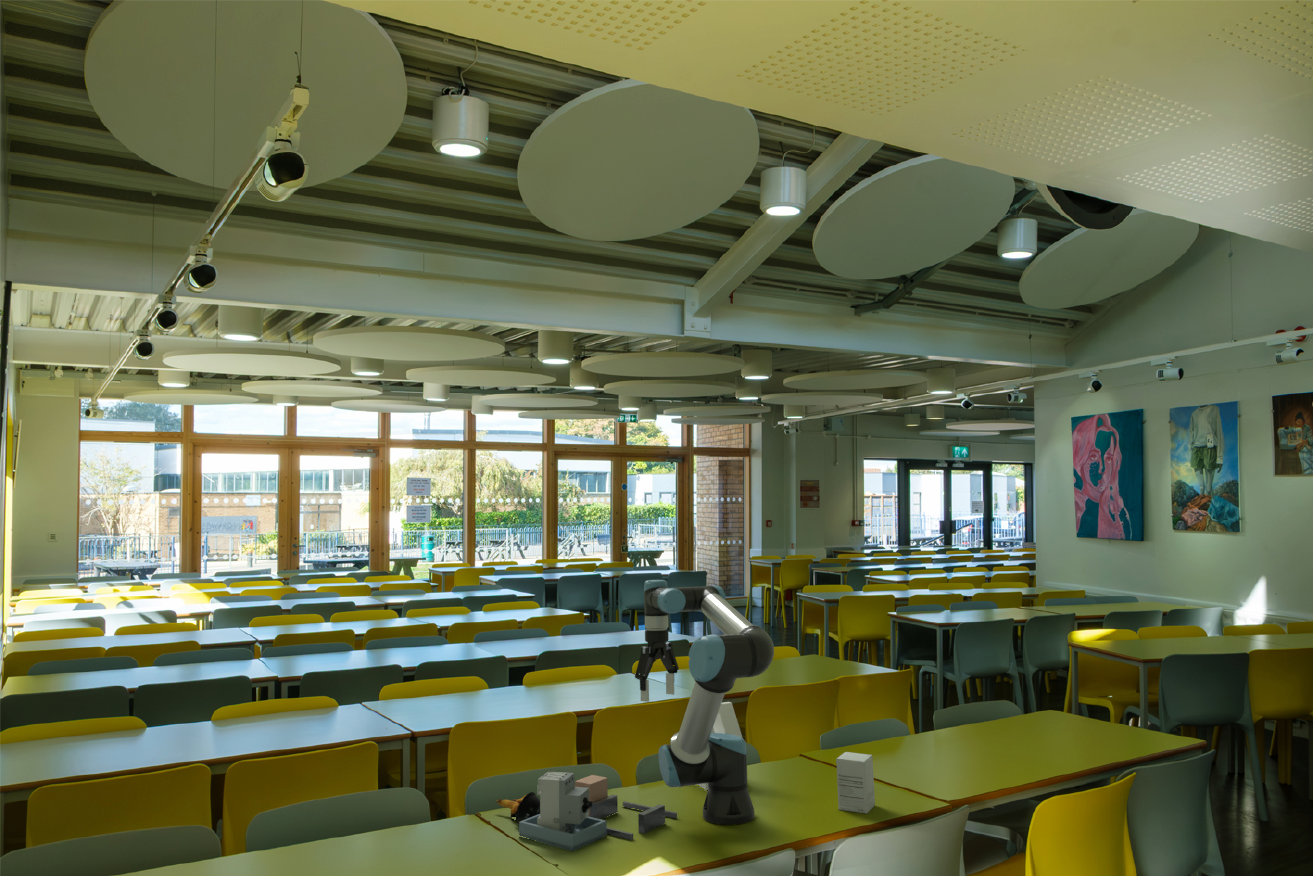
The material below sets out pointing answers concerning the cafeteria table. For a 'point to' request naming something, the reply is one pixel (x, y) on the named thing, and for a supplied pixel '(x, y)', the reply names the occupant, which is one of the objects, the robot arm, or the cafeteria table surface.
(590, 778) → the beige rectangular block
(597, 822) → the tray
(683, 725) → the robot arm
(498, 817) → the cafeteria table surface
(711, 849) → the cafeteria table surface
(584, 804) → the circuit breaker
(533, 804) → the fried shrimp in bowl
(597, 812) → the grey blocks
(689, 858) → the cafeteria table surface
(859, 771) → the supplement box
